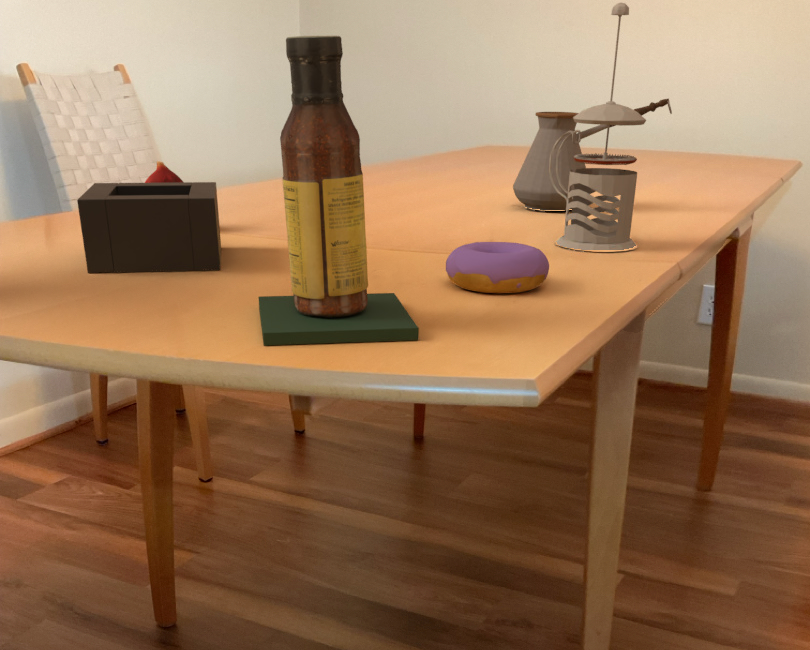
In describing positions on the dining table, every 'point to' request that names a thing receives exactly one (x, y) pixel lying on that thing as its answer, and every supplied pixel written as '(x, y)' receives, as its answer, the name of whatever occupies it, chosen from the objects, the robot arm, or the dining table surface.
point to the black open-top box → (150, 227)
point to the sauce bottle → (323, 185)
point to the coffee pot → (534, 172)
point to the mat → (336, 323)
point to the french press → (600, 180)
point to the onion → (162, 175)
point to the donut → (497, 267)
